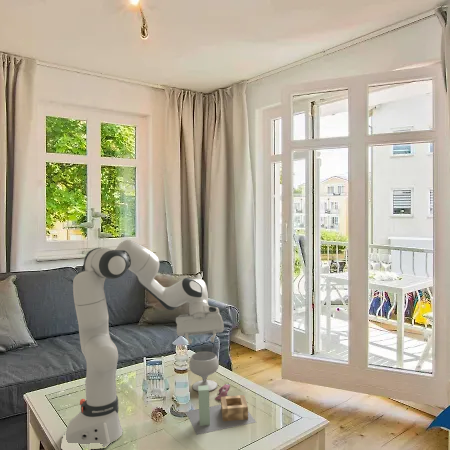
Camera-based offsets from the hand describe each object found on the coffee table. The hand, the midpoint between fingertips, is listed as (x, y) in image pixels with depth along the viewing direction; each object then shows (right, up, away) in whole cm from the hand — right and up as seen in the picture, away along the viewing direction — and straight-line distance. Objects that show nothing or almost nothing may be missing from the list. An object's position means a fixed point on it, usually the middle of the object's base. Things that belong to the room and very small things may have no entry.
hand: (201, 343), depth 171 cm
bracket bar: (+2, -28, -11) cm, 30 cm away
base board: (+8, -29, -6) cm, 31 cm away
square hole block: (+14, -27, -5) cm, 31 cm away
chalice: (0, -28, +24) cm, 37 cm away
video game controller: (+9, -28, +12) cm, 32 cm away
